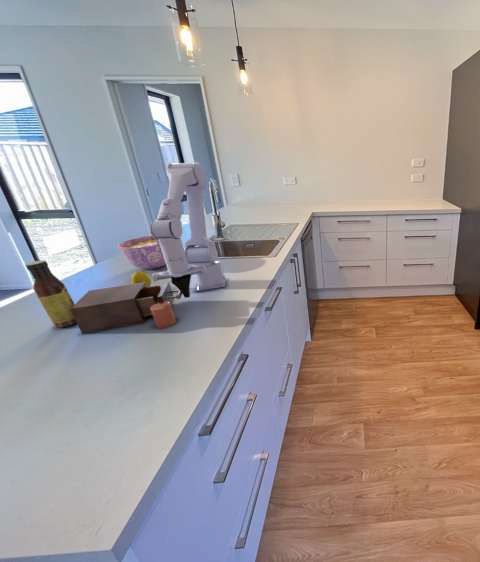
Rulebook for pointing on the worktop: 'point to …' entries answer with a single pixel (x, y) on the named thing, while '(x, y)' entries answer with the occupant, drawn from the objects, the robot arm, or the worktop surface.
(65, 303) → the sauce bottle
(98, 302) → the cabinet
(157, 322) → the orange block
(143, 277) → the lemon
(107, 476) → the worktop surface
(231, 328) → the worktop surface
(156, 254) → the bowl of food
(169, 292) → the drawer
